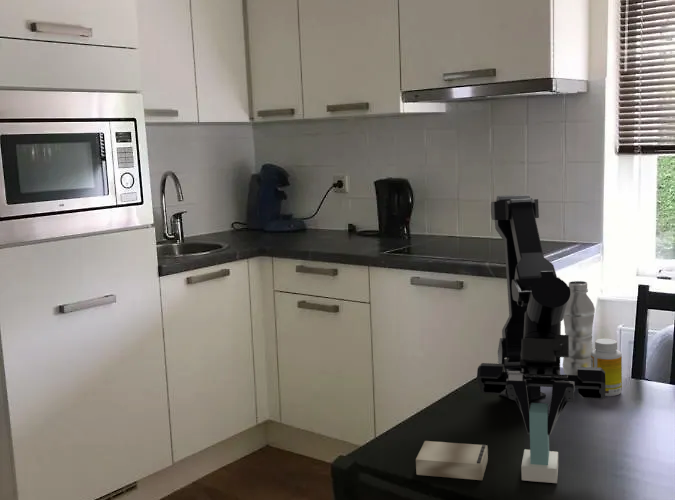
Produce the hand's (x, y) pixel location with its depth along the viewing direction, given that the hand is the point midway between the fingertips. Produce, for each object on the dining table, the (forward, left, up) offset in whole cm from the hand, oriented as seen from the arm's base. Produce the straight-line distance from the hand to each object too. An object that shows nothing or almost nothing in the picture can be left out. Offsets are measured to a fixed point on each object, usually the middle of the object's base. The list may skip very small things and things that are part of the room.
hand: (538, 433), depth 110 cm
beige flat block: (-10, -8, -7) cm, 15 cm away
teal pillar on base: (-1, +1, -7) cm, 7 cm away
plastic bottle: (-29, +37, -7) cm, 48 cm away
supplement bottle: (-20, +35, -7) cm, 41 cm away
